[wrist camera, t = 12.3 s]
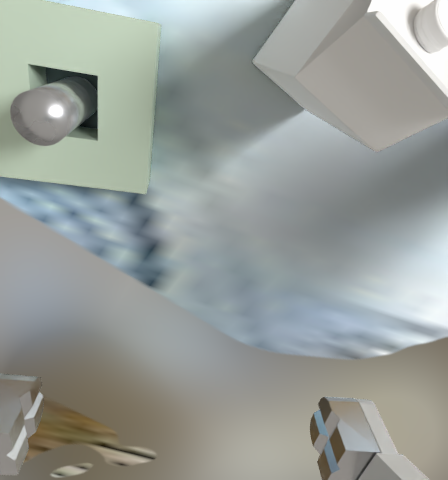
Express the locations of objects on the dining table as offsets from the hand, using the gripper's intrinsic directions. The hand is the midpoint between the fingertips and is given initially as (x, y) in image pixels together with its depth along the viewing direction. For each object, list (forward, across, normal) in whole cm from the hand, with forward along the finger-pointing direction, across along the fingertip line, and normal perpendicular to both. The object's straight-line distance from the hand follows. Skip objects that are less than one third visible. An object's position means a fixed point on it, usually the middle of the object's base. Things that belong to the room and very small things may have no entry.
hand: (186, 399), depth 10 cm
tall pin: (+29, +11, -2) cm, 31 cm away
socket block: (+29, +11, -2) cm, 31 cm away
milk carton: (+30, -9, -9) cm, 32 cm away
